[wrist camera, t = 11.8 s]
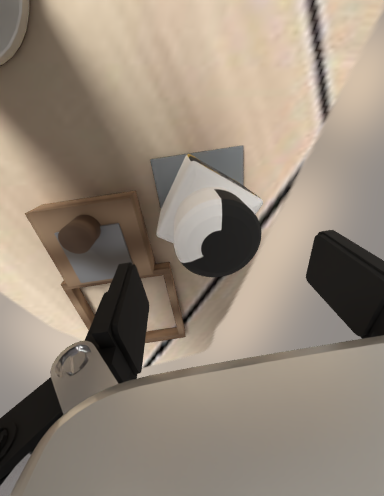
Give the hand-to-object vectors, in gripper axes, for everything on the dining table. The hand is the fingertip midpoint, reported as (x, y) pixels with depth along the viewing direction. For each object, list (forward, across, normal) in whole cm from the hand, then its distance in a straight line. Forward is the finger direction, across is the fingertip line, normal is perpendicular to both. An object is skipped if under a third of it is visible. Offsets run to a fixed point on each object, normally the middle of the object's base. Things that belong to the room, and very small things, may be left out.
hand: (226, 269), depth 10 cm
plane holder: (+15, +12, +11) cm, 23 cm away
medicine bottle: (+15, 0, 0) cm, 15 cm away
